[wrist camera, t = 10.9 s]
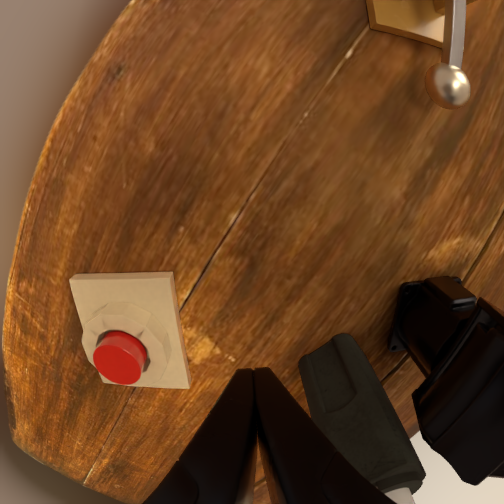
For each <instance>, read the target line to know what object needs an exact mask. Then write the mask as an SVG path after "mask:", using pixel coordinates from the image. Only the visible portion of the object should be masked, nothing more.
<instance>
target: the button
mask: <svg viewBox="0 0 504 504" xmlns="http://www.w3.org/2000/svg"><path fill="white" fill-rule="evenodd" d="M146 361H147V353H146V350H145V348H144V346H143V344H142V343H141V342H140V341H139V340H138V339H137V338H136V337H134V336H133V335H131V334H129V333H126V332H123V331H111V332H108V333H106V334H105V335H104V336H103V338H102V339H101V341H100V343H99V344H98V346H97V347H96V349H95V351H94V353H93V362H94V365H95V367H96V368H97V370H98V371H99V372H100V373H101V374H102V375H103V376H104V377H105V378H107V379H108V380H110V381H112V382H114V383H117V384H121V385H130V384H134V383H136V382H137V381H138V380H139V379H140V377H141V374H142V372H143V369H144V366H145V364H146Z"/></svg>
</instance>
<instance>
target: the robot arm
mask: <svg viewBox="0 0 504 504" xmlns="http://www.w3.org/2000/svg"><path fill="white" fill-rule="evenodd" d="M461 282H462V281H461V279H460V278H458V277H449V276H442V277H433V278H426V279H425V280H423V281H413V282H405V283H403V284H402V285H401V287H400V290H399V296H398V301H397V306H396V311H395V316H394V320H393V325H392V329H391V333H390V338H389V342H388V346H387V348H388V349H389V351H390V352H396V351H402V350H406V351H407V352H408V354H409V355H410V356H411V358H412V359H413V361H414V362H415V363H416V365H417V366H418V368H419V369H420V370H421V372H422V373H423V375H424V376H425V378H426V379H425V380H424V382H423V383H422V384H421V385H420V387H419V388H418V389H416V390H415V391H414V392H413V393H412V394H411V395H412V399H413V403H414V407H415V411H416V415H417V419H418V424H419V428H420V432H421V434H422V438H423V440H424V441H426V442H427V444H428V445H429V446H430V447H431V449H433V450H434V451H436V452H437V453H439V454H440V455H441V456H442V457H444V459H446V460H447V462H449V464H450V465H451V466H452V467H453V469H454V470H455V471H456V472H457V474H458V475H459V477H460V478H461V480H462V481H464V482H466V483H469V484H471V485H478V484H480V483H481V482H482V481H483V480H484V479H485V478H486V477H498V478H504V312H503V311H502V310H500V309H499V308H497V307H496V306H494V305H493V304H491V303H489V302H488V301H486V300H485V299H483V298H481V297H479V299H478V301H477V302H476V300H477V298H476V296H475V295H473V294H472V293H471V292H470V291H468V290H467V289H466V288H464V287H463V286H462V285H461ZM407 287H408V288H407ZM406 288H407V290H406V291H405V289H406ZM253 375H254V376H253ZM256 421H257V422H256ZM257 435H258V440H257ZM258 445H259V450H260V455H261V460H262V464H263V469H264V473H265V478H266V482H267V486H268V491H269V495H270V499H271V504H397V503H396V502H394V501H393V500H392V499H390V498H389V497H388V496H386V495H385V494H384V493H383V492H381V491H380V490H379V489H377V488H376V487H375V486H374V485H373V484H371V483H370V482H369V481H368V480H367V479H366V478H364V477H363V476H362V475H361V474H360V473H359V472H358V471H357V470H356V469H355V468H354V467H353V466H352V465H351V464H350V463H349V462H348V461H347V459H346V458H345V457H344V456H343V455H342V454H341V453H340V452H339V451H337V448H336V447H335V446H334V445H333V444H332V443H331V442H330V440H329V439H328V438H327V437H326V436H325V435H324V433H323V432H322V431H321V430H320V429H319V428H318V426H317V425H316V424H315V423H314V422H313V421H312V419H311V418H310V417H309V416H308V415H307V413H306V412H305V411H304V410H303V409H302V407H301V406H300V405H299V404H298V402H297V401H296V400H295V399H294V398H293V396H292V395H291V394H290V393H289V391H288V390H287V389H286V388H285V386H284V385H283V384H282V383H281V381H280V380H279V379H278V378H277V376H276V375H275V374H274V373H273V371H272V370H271V369H270V368H269V367H261V368H254V370H253V369H251V368H244V369H237V370H236V371H235V373H234V375H233V376H232V378H231V379H230V381H229V383H228V384H227V386H226V387H225V389H224V390H223V392H222V394H221V395H220V397H219V398H218V400H217V401H216V403H215V405H214V406H213V408H212V409H211V411H210V412H209V414H208V415H207V417H206V418H205V420H204V421H203V423H202V424H201V426H200V427H199V429H198V430H197V432H196V433H195V435H194V436H193V438H192V439H191V441H190V442H189V444H188V445H187V447H186V448H185V450H184V451H183V453H182V454H181V456H180V457H179V461H176V463H175V464H174V466H173V467H172V468H171V470H170V471H169V473H168V474H167V475H166V477H165V478H164V479H163V480H162V482H161V483H160V484H159V486H158V487H157V488H156V489H155V490H154V491H153V492H152V493H151V495H150V496H149V497H148V498H147V499H146V500H145V501H144V502H143V503H142V504H253V494H254V483H255V472H256V461H257V447H258Z"/></svg>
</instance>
